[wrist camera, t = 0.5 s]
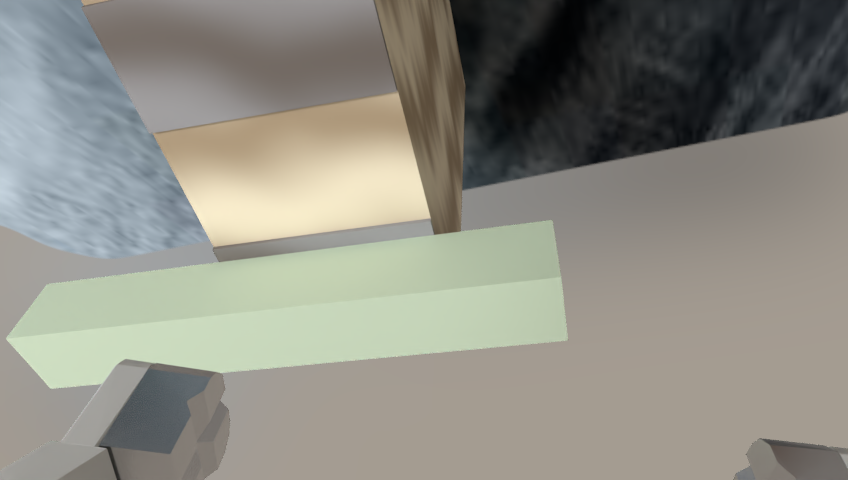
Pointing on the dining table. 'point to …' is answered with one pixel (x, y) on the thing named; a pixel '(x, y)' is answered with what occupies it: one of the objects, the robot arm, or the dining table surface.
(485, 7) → the dining table surface
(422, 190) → the stand
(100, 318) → the green block
